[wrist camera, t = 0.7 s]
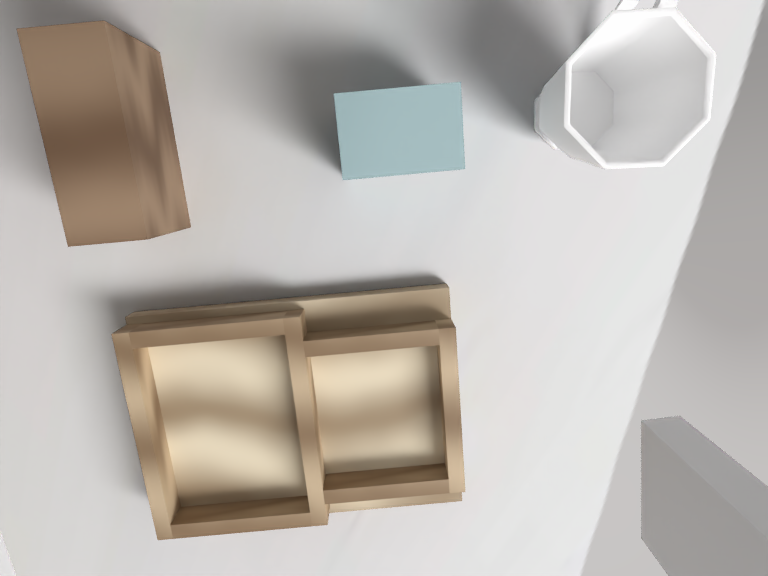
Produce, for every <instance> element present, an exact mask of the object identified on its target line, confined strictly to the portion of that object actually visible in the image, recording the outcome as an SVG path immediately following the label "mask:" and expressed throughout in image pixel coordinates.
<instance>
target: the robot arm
mask: <svg viewBox="0 0 768 576" xmlns="http://www.w3.org/2000/svg"><path fill="white" fill-rule="evenodd" d="M641 538H642V540H643V541H644V542H645V544H646V545H647V547H648V548H649V550H650V551H651V552H652V554H653V555H654V556H655V558H656V559H657V561H658V562H659V563H660V565H661V566H662V567H663V569H664V570H665V571H666V573H667V574H668V576H768V486H766V485H765V484H764V483H763V482H761V481H760V480H759V479H758V478H757V477H755V476H754V475H753V474H752V473H750V472H749V471H748V470H747V469H745V468H744V467H743V466H742V465H740V464H739V463H738V462H737V461H735V460H734V459H733V458H732V457H730V456H729V455H728V454H727V453H726V452H724V451H723V450H722V449H721V448H719V447H718V446H717V445H716V444H714V443H713V442H712V441H710V440H709V439H708V438H707V437H705V436H704V435H703V434H702V433H701V432H699V431H698V430H697V429H696V428H694V427H693V426H692V425H691V424H689V423H688V422H687V421H686V420H685V419H683V418H682V417H681V416H676V417H667V418H659V419H650V420H642V421H641ZM0 576H17V575H16V573H15V570H14V567H13V564H12V561H11V559H10V556H9V553H8V550H7V548H6V545H5V542H4V539H3V537H2V534H1V531H0Z"/></svg>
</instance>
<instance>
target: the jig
mask: <svg viewBox="0 0 768 576" xmlns="http://www.w3.org/2000/svg"><path fill="white" fill-rule="evenodd" d="M125 320H126V324H127V325H126V326H124V327H122V328H121V329H119V330H117V331H116V332H114V333H112V334H111V335H112V339H113V343H114V348H115V352H116V357H117V361H118V366H119V370H120V375H121V379H122V384H123V388H124V392H125V397H126V401H127V406H128V410H129V415H130V419H131V424H132V428H133V432H134V437H135V441H136V446H137V450H138V455H139V459H140V464H141V468H142V472H143V477H144V481H145V486H146V490H147V495H148V499H149V504H150V508H151V512H152V517H153V521H154V526H155V530H156V535H157V539H158V540H165V539H176V538H187V537H198V536H209V535H220V534H231V533H242V532H253V531H264V530H275V529H286V528H297V527H309V526H320V525H328V517H329V513H334V512H345V511H356V510H367V509H378V508H389V507H400V506H411V505H423V504H434V503H445V502H456V501H462V492H465V479H464V462H463V445H462V428H461V411H460V394H459V376H458V359H457V342H456V327H455V325H454V324H453V322H452V320H451V311H450V295H449V287H448V285H447V284H435V285H424V286H413V287H402V288H391V289H380V290H369V291H358V292H347V293H336V294H325V295H314V296H303V297H292V298H281V299H270V300H259V301H249V302H238V303H227V304H216V305H205V306H194V307H183V308H172V309H161V310H150V311H139V312H133V313H132V314H130V315H128V316H126V317H125Z"/></svg>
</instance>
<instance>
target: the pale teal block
mask: <svg viewBox="0 0 768 576" xmlns="http://www.w3.org/2000/svg"><path fill="white" fill-rule="evenodd" d="M334 101H335V111H336V120H337V130H338V139H339V149H340V158H341V168H342V177H343V180H351V179H362V178H373V177H384V176H395V175H406V174H416V173H427V172H438V171H449V170H460V169H465V157H464V137H463V117H462V97H461V82H454V83H443V84H432V85H421V86H410V87H399V88H388V89H377V90H366V91H355V92H345V93H334Z"/></svg>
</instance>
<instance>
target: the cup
mask: <svg viewBox="0 0 768 576" xmlns="http://www.w3.org/2000/svg"><path fill="white" fill-rule="evenodd" d="M678 1H679V0H656V2H655V4H654V6H653V8H650V9H634V7H635V6H636V5H637V3H638V2H639V0H620V2H619V3H618V5H617V6H616V8H615V10H612V11H611V12H610V14H609V15H608V16H607V17H606V18H605V19H604V20H603V21H602V22H601V23H600V24H599V26H598V27H597V28H596V29H595V30H594V31H593V32H592V33H591V34H590V35H589V36H588V38H587V39H586V40H585V41H584V42H583V43H582V44H581V45H580V46H579V47H578V49H577V50H576V51H575V52H574V53H573V54H572V55H571V56H570V57H569V58H568V59H567V61H566V62H565V63H564V64H563V65H562V66H561V67H560V68H559V70H558V71H557V72H556V73H555V75H554V76H553V77H552V78H551V79H550V80H549V81H548V82H547V83H546V84H545V85H544V87H543V89H542V92H541V94H540V95H539V96H538V97H537V98H536V99H535V107H534V130H535V131H536V132H537V133H538V134H539V135H540V136H541V138H542V139H543V140H544V141H545V142H546V143H547V144H548V145H549V146H550V147H551V148H552V149H553V150H555V149H559V150H560V151H562V152H563V153H564V154H566V155H567V156H568V157H570V158H572V159H576V160H579V161H582V162H586V163H588V164H591V165H593V166H596V167H600V168H603V169H615V168H634V167H654V166H664V165H665V164H666V163H667V162H668V161H669V160H670V159H671V158H672V157H673V156H674V155H675V154H676V153H677V152H678V151H679V150H680V149H681V148H682V147H683V146H684V145H685V144H686V143H687V142H688V141H689V140H690V139H691V138H692V137H693V136H694V135H695V134H696V133H697V132H698V131H699V130H700V129H701V128H702V127H703V126H704V125H705V124H706V123H707V122H708V121H709V120H710V115H711V105H712V94H713V84H714V73H715V63H716V53H715V52H714V51H713V49H712V48H711V47H710V46H709V45H708V44H707V42H706V41H705V40H704V39H703V38H702V37H701V35H700V34H699V33H698V32H697V31H696V30H695V29H694V27H693V26H692V25H691V24H690V23H689V22H688V20H687V19H686V18H685V17H684V16H683V15H682V14H681V12H680V11H679V10H678V9H677V8H676V6H677V3H678Z"/></svg>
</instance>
